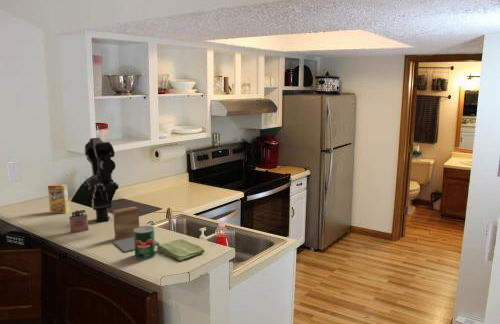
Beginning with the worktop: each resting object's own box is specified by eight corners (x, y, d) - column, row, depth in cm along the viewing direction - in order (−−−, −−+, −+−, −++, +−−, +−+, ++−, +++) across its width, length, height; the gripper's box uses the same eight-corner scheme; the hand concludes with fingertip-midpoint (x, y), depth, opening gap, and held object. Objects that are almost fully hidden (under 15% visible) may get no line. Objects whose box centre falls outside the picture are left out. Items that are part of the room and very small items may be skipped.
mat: (112, 242, 186) (112, 241, 186) (145, 235, 195) (145, 234, 195) (124, 252, 174) (124, 251, 174) (159, 244, 183) (159, 243, 183)
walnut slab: (114, 238, 191) (112, 210, 189) (136, 233, 197) (134, 206, 195) (117, 241, 188) (115, 212, 186) (139, 236, 194) (138, 208, 192)
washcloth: (180, 263, 164) (180, 255, 163) (154, 251, 176) (154, 244, 175) (207, 254, 173) (207, 246, 172) (180, 243, 185) (180, 236, 185)
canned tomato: (139, 261, 165) (137, 233, 164) (132, 255, 172) (130, 228, 170) (158, 256, 170) (157, 229, 168) (150, 250, 176) (149, 224, 174)
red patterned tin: (71, 233, 198) (69, 212, 197) (69, 231, 201) (67, 211, 200) (89, 230, 203) (87, 209, 201) (87, 228, 206) (86, 208, 204)
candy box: (50, 213, 232) (47, 185, 229) (54, 211, 236) (51, 183, 234) (65, 213, 232) (63, 185, 229) (69, 211, 236) (67, 183, 233)
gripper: (81, 168, 204) (84, 200, 207) (92, 173, 189) (95, 208, 192) (105, 165, 211) (107, 196, 213) (117, 170, 196) (120, 204, 198)
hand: (107, 201), depth 204 cm, fingers open, 8 cm apart
